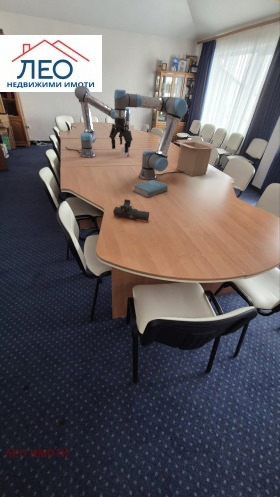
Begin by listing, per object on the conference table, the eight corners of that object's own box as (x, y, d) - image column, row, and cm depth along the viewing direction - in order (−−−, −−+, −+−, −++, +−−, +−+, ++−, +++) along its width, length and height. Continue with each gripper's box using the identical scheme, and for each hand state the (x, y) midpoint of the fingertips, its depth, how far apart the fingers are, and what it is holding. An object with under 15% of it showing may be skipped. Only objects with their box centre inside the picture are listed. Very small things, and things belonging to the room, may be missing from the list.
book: (152, 185, 190) (153, 179, 187) (167, 191, 181) (167, 185, 178) (133, 191, 176) (133, 185, 173) (147, 198, 167) (148, 191, 164)
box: (218, 176, 220) (226, 147, 204) (190, 180, 206) (196, 149, 190) (191, 164, 250) (196, 137, 234) (164, 166, 236) (168, 138, 220)
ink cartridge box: (126, 155, 265) (126, 142, 256) (129, 156, 262) (129, 142, 254) (121, 156, 260) (121, 142, 251) (124, 157, 257) (124, 143, 248)
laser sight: (146, 224, 135) (147, 209, 129) (111, 219, 138) (111, 204, 132) (149, 217, 143) (150, 203, 137) (115, 212, 146) (115, 198, 140)
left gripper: (115, 123, 245) (115, 143, 258) (131, 126, 233) (130, 148, 246) (120, 122, 250) (120, 143, 263) (136, 126, 238) (135, 147, 250)
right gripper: (103, 115, 154) (104, 147, 167) (129, 120, 141) (128, 155, 154) (111, 114, 159) (112, 146, 172) (137, 119, 146) (135, 153, 159)
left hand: (125, 145), depth 254 cm, fingers open, 13 cm apart
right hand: (119, 150), depth 163 cm, fingers open, 13 cm apart
